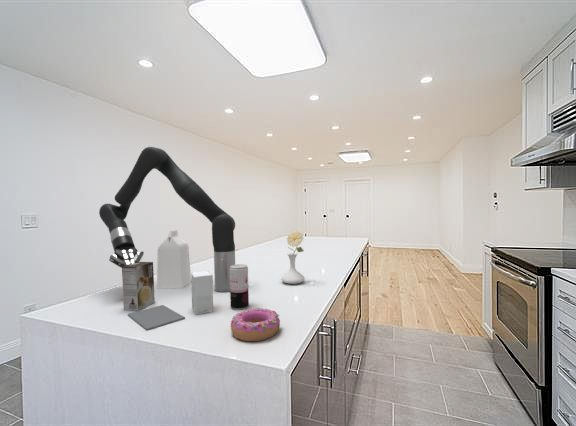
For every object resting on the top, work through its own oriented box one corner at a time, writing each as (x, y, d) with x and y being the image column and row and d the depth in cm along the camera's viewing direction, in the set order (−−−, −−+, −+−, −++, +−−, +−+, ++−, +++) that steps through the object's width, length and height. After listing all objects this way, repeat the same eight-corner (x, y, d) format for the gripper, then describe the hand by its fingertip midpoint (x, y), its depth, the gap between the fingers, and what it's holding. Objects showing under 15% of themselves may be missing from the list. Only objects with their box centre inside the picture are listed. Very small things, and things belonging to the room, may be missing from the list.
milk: (182, 288, 129) (180, 231, 129) (156, 288, 129) (155, 232, 129) (191, 281, 141) (189, 229, 141) (168, 281, 141) (166, 229, 141)
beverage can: (241, 302, 108) (241, 263, 108) (252, 306, 104) (251, 265, 103) (227, 307, 104) (226, 266, 103) (237, 311, 99) (236, 268, 99)
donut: (220, 338, 79) (220, 320, 79) (247, 319, 92) (247, 304, 92) (266, 347, 73) (265, 328, 73) (288, 326, 86) (287, 309, 86)
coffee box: (140, 301, 111) (139, 261, 111) (155, 302, 110) (153, 261, 110) (122, 310, 102) (121, 266, 102) (138, 311, 101) (136, 266, 101)
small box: (213, 311, 99) (212, 274, 99) (194, 315, 96) (193, 277, 96) (209, 304, 107) (208, 270, 106) (191, 307, 104) (190, 272, 103)
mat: (127, 315, 97) (127, 313, 97) (162, 306, 106) (162, 304, 106) (146, 330, 85) (146, 328, 85) (185, 318, 93) (185, 317, 93)
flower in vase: (276, 282, 136) (275, 230, 135) (293, 278, 144) (292, 229, 143) (295, 288, 126) (294, 232, 126) (312, 283, 134) (311, 230, 133)
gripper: (105, 235, 113) (115, 270, 104) (140, 233, 122) (152, 265, 114) (102, 248, 117) (111, 282, 108) (137, 244, 126) (148, 276, 118)
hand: (132, 273), depth 111 cm, fingers closed
